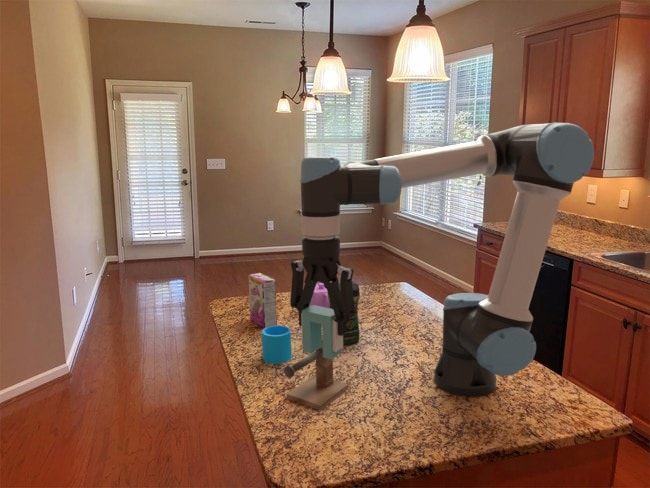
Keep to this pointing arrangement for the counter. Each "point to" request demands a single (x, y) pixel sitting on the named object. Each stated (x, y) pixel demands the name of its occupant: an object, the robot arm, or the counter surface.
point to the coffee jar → (351, 319)
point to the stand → (316, 382)
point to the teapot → (320, 296)
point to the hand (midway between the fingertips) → (322, 344)
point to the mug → (276, 344)
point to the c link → (318, 330)
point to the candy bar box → (262, 300)
